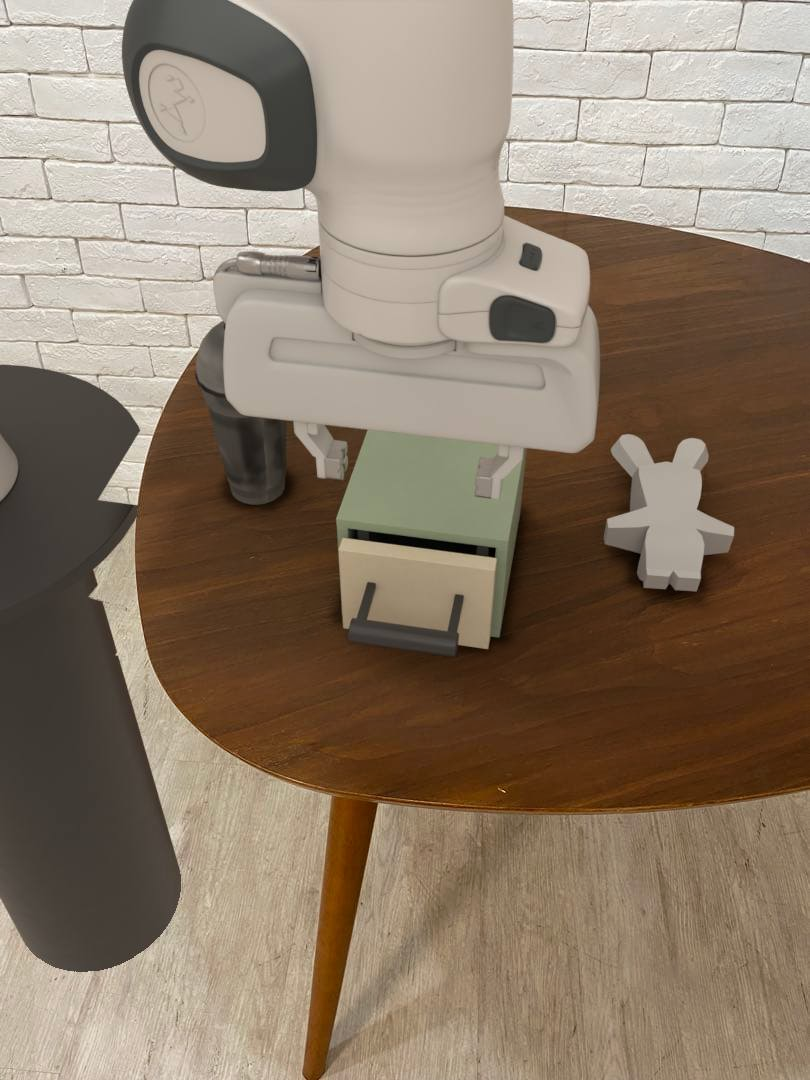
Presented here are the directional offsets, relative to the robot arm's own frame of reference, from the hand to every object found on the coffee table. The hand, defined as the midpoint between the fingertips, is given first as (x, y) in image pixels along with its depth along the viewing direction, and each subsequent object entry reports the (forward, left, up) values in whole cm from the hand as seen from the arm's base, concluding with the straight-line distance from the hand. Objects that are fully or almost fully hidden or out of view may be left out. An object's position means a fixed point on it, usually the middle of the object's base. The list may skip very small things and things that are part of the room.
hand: (410, 482), depth 61 cm
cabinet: (0, +11, -17) cm, 20 cm away
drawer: (0, +6, -16) cm, 17 cm away
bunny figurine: (+17, +18, -17) cm, 30 cm away
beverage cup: (-16, +17, -17) cm, 29 cm away
